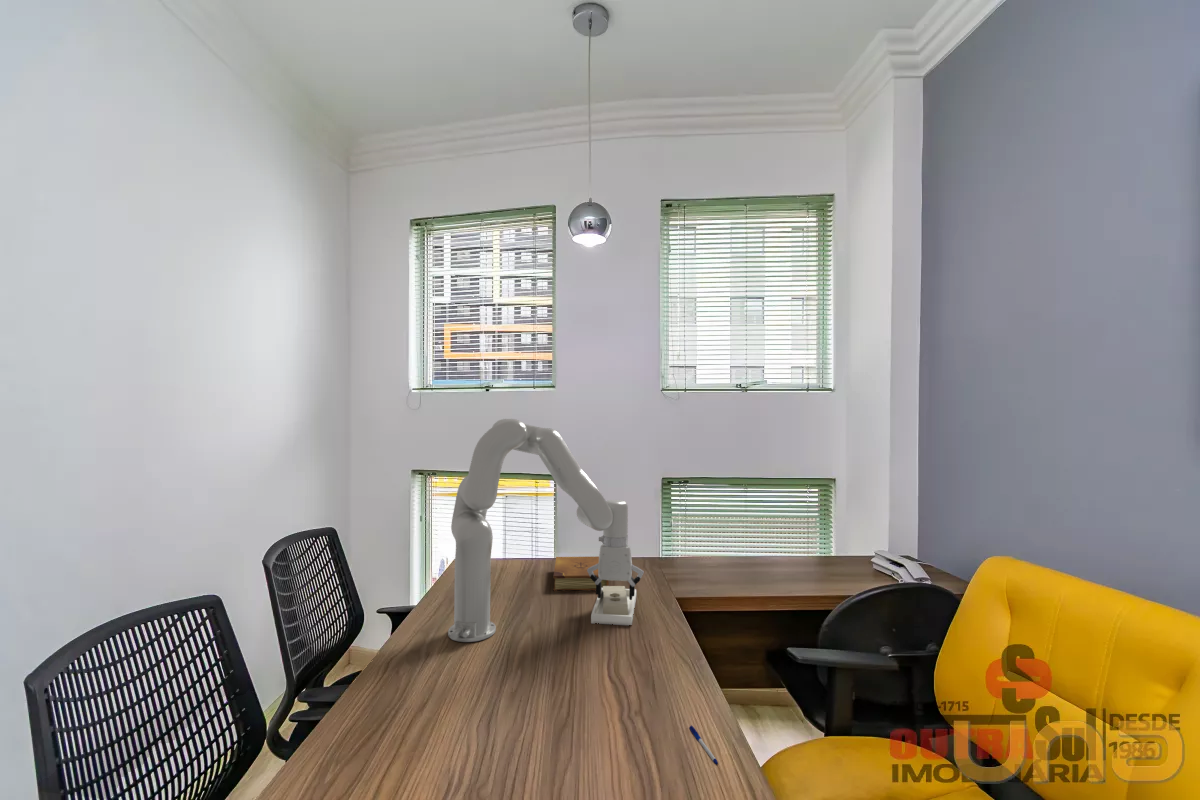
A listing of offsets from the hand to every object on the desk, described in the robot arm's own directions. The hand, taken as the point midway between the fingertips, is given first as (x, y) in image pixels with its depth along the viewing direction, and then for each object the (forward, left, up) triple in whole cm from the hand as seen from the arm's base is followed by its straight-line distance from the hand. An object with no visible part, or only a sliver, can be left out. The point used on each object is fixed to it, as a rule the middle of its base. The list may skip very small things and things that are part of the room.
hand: (615, 597), depth 156 cm
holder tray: (0, 0, -4) cm, 4 cm away
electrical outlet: (+1, 0, -3) cm, 3 cm away
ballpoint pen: (-61, -22, -4) cm, 65 cm away
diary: (+26, +15, -4) cm, 30 cm away
